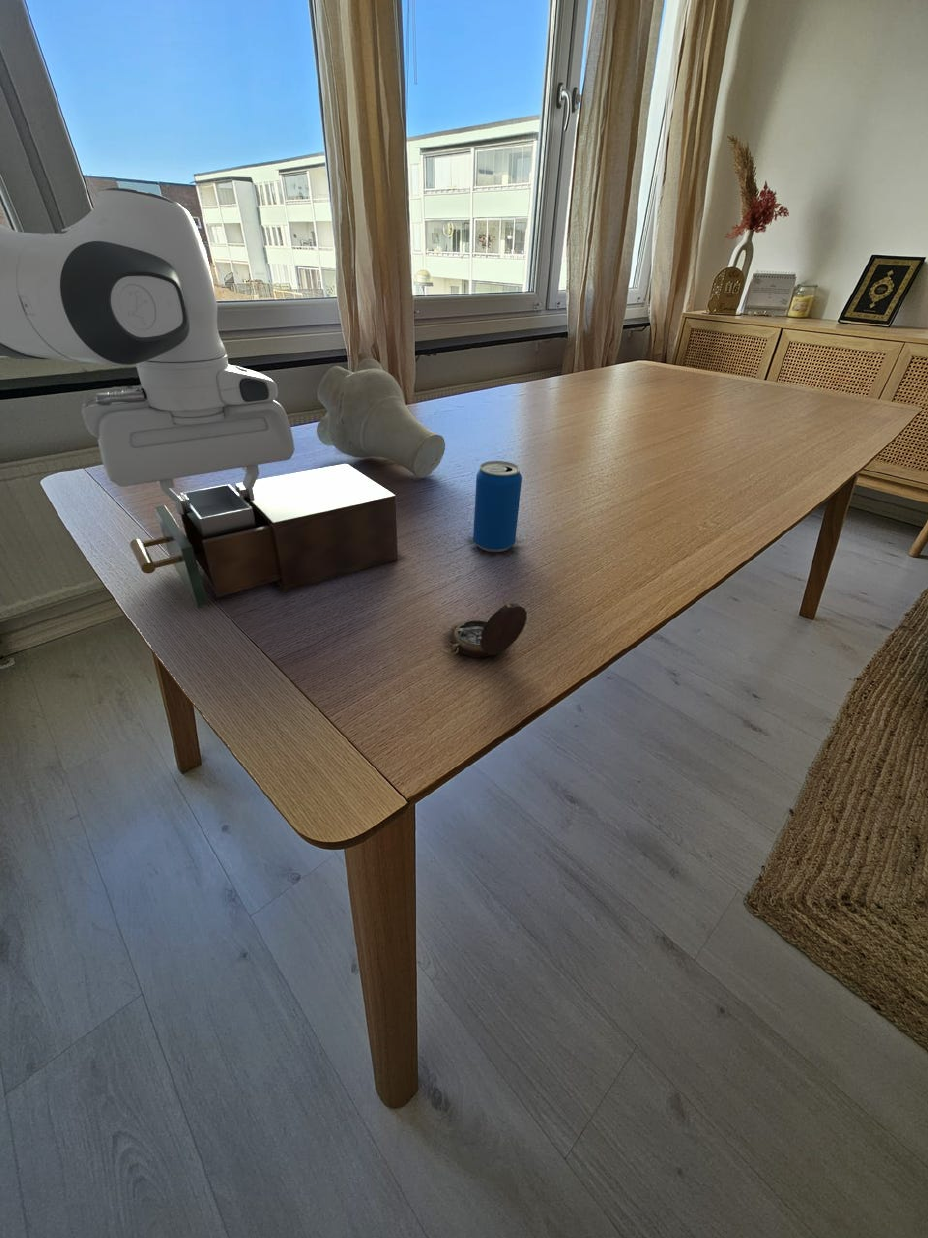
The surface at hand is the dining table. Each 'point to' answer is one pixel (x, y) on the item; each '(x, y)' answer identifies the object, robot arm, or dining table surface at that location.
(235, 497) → the tray
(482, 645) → the compass
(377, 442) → the vase
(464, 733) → the dining table surface
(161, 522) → the drawer
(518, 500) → the beverage can
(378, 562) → the cabinet
